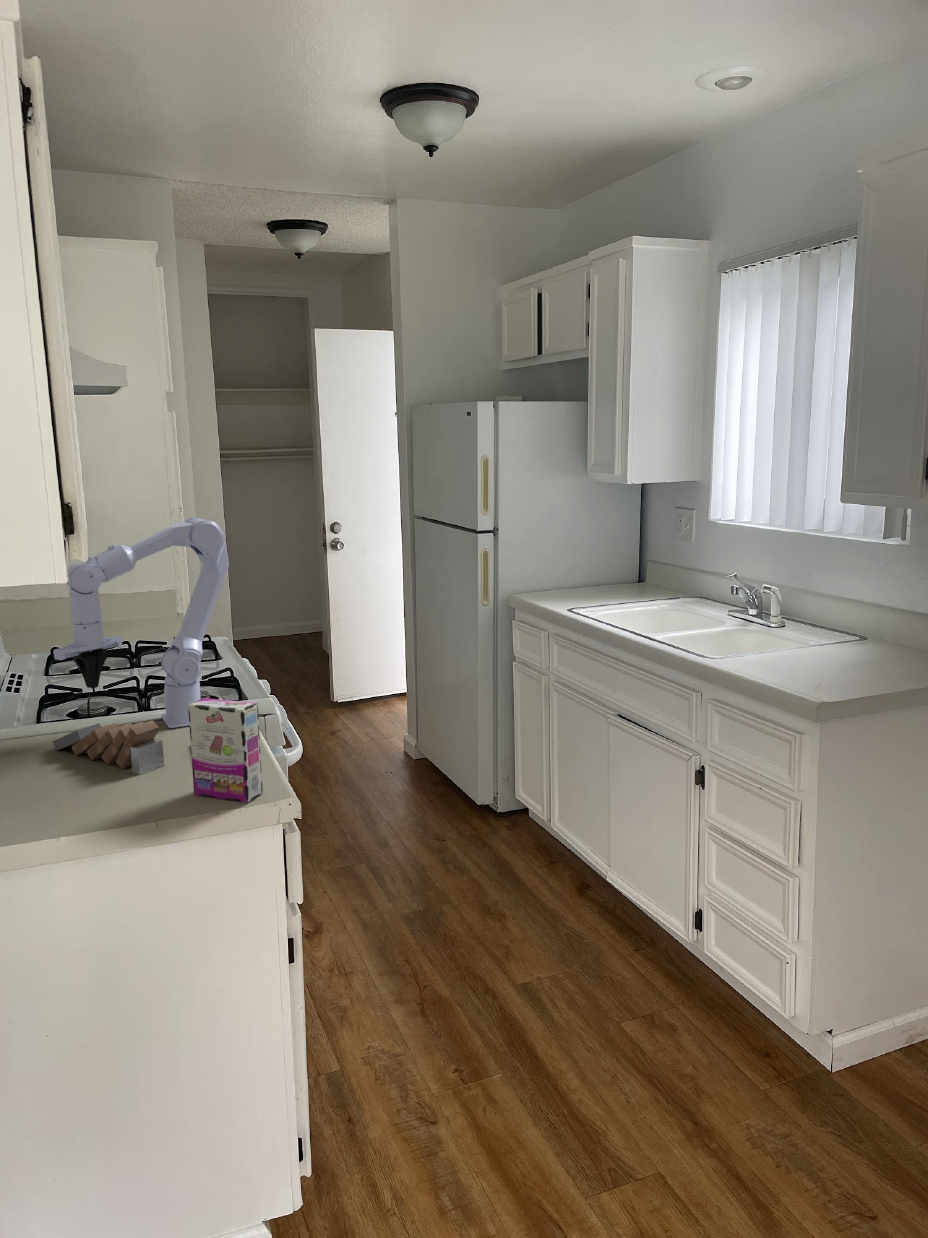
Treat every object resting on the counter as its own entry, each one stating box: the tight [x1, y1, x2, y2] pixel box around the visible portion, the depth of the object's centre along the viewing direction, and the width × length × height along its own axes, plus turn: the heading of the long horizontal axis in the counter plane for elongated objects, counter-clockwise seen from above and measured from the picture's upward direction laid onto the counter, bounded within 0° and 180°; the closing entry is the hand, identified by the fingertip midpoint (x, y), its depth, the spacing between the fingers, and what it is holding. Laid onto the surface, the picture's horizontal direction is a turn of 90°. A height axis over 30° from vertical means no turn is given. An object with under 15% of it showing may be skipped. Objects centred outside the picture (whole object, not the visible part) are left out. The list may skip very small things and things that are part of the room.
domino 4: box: [101, 721, 144, 766], centre depth 175 cm, size 2×5×9 cm
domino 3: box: [87, 722, 132, 761], centre depth 177 cm, size 2×5×9 cm
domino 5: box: [115, 720, 160, 770], centre depth 173 cm, size 2×5×9 cm
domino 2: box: [71, 722, 120, 757], centre depth 180 cm, size 2×5×9 cm
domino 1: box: [52, 723, 102, 751], centre depth 183 cm, size 2×5×9 cm
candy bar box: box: [188, 697, 264, 804], centre depth 159 cm, size 11×5×16 cm, turn 70°
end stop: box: [131, 738, 165, 776], centre depth 172 cm, size 2×6×5 cm, turn 148°
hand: (92, 687), depth 190 cm, fingers closed
